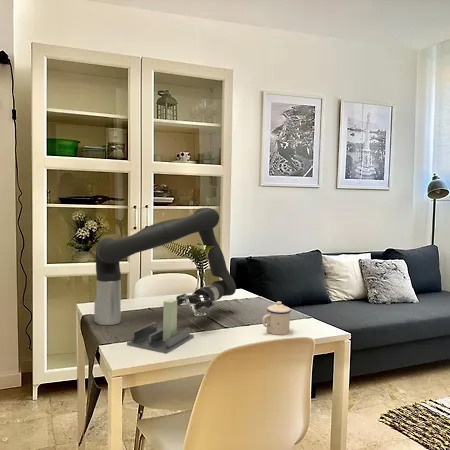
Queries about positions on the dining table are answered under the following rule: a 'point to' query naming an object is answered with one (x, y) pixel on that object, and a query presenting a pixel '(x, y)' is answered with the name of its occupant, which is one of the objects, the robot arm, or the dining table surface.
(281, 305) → the teacup with lid
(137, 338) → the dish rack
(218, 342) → the dining table surface
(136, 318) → the dining table surface
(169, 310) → the pale green rectangular block
